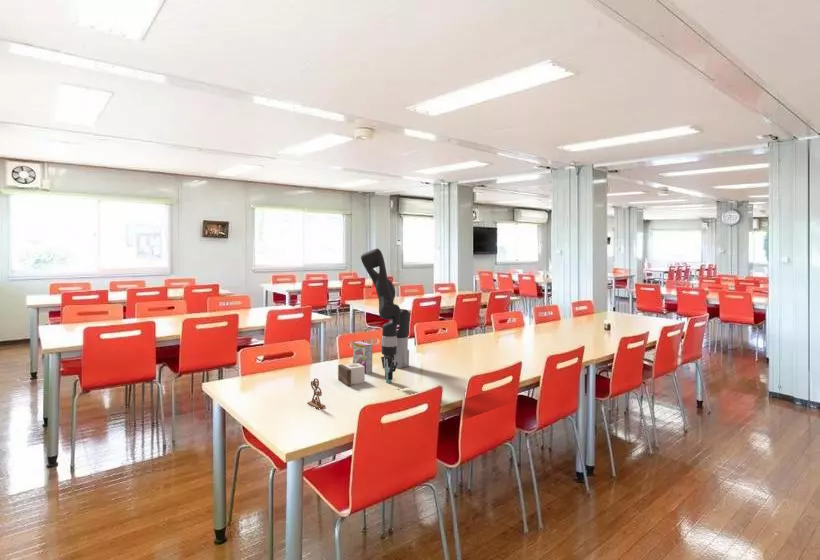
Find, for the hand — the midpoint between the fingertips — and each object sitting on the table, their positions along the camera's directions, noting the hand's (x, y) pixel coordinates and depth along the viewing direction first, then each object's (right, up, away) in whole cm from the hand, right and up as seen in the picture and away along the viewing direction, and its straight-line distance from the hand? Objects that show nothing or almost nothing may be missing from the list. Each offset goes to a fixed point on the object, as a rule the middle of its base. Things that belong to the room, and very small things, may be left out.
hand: (388, 378), depth 236 cm
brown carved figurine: (-30, -5, -32) cm, 44 cm away
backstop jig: (-11, -3, +4) cm, 12 cm away
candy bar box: (-15, -2, +21) cm, 26 cm away
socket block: (-18, -2, +1) cm, 18 cm away
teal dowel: (0, -3, 0) cm, 3 cm away
